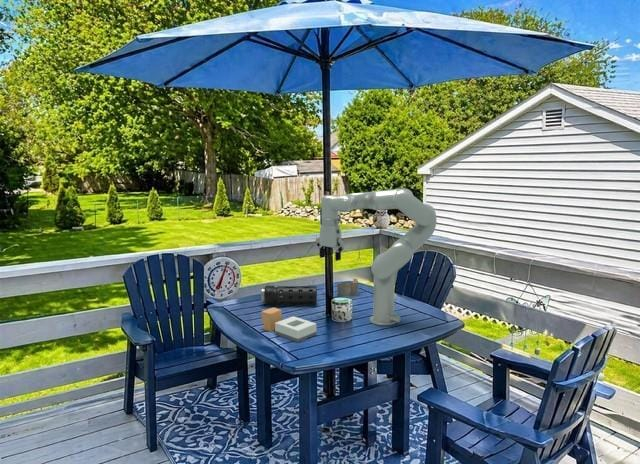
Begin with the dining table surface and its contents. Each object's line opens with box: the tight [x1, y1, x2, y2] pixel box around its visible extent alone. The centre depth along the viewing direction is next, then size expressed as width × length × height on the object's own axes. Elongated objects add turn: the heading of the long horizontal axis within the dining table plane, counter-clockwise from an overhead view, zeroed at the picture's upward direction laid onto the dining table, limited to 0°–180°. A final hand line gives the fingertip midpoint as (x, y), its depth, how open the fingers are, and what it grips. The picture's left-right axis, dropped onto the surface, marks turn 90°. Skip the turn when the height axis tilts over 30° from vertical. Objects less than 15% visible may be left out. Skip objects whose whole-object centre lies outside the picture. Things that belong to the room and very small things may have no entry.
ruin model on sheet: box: [336, 278, 360, 298], centre depth 253 cm, size 11×3×10 cm, turn 96°
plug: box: [261, 307, 283, 332], centre depth 205 cm, size 6×7×8 cm
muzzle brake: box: [260, 285, 318, 306], centre depth 238 cm, size 10×28×10 cm, turn 89°
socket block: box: [274, 315, 317, 343], centre depth 199 cm, size 14×11×5 cm
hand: (330, 258), depth 215 cm, fingers open, 9 cm apart
